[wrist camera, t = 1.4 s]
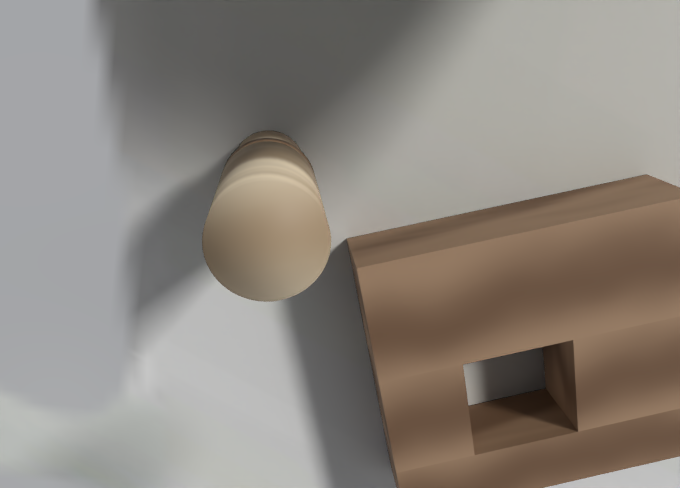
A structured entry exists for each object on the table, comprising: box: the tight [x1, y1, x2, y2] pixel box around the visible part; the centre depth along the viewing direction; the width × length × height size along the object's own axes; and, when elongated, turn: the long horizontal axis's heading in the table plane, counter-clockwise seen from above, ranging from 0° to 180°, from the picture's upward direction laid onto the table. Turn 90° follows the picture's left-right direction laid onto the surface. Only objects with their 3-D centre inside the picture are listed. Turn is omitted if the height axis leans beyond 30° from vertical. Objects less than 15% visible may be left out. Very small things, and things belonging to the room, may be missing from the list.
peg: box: [202, 131, 331, 301], centre depth 24 cm, size 4×4×11 cm
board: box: [347, 175, 680, 488], centre depth 32 cm, size 15×16×4 cm
